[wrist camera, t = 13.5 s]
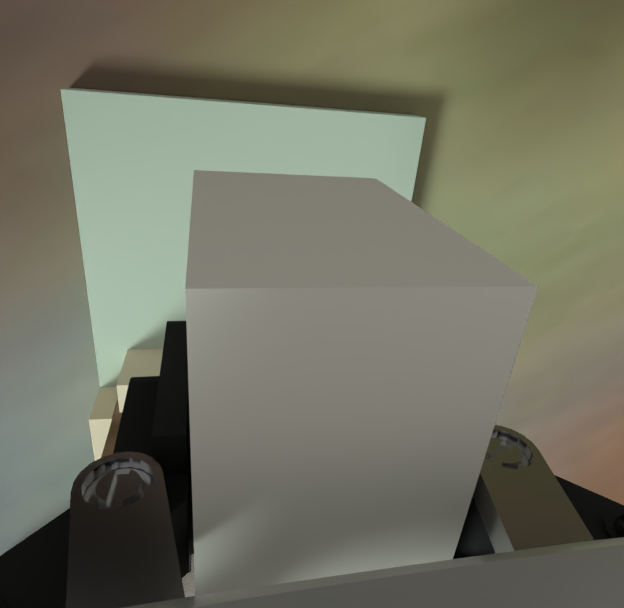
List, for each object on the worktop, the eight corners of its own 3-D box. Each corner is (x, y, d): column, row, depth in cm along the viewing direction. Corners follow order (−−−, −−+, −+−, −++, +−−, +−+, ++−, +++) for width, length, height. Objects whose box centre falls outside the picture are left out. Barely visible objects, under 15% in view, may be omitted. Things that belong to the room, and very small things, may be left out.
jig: (121, 506, 30) (108, 569, 26) (69, 87, 20) (34, 94, 16) (353, 488, 33) (370, 542, 29) (416, 114, 22) (455, 126, 19)
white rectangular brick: (200, 487, 14) (200, 744, 9) (194, 170, 10) (184, 288, 5) (334, 474, 15) (408, 702, 10) (376, 177, 11) (538, 286, 6)
